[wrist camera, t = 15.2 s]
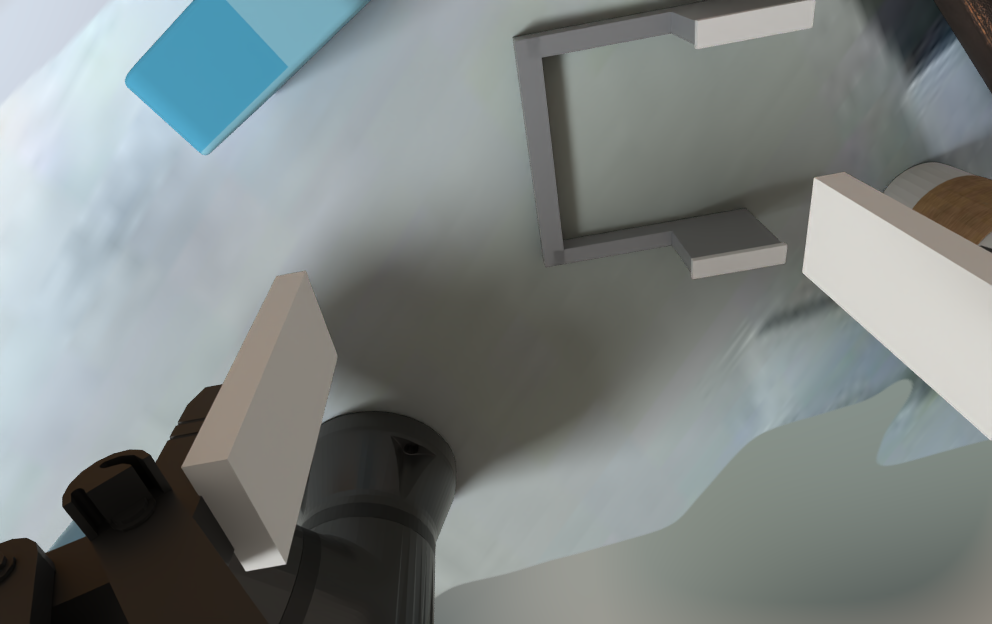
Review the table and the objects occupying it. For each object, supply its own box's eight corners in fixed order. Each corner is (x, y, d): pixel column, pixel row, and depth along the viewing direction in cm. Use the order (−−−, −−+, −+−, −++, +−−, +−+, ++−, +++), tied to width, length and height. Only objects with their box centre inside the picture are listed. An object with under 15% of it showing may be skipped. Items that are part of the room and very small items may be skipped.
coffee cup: (907, 266, 48) (1067, 385, 36) (836, 220, 46) (981, 331, 33) (998, 178, 45) (1212, 277, 32) (926, 123, 42) (1128, 207, 29)
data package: (343, -102, 33) (295, -114, 23) (399, -28, 35) (378, -10, 25) (204, 45, 37) (110, 89, 27) (263, 104, 39) (196, 166, 29)
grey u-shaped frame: (746, 223, 45) (785, 263, 40) (543, 259, 46) (554, 302, 41) (762, -12, 37) (815, -2, 31) (512, 35, 37) (522, 54, 32)
